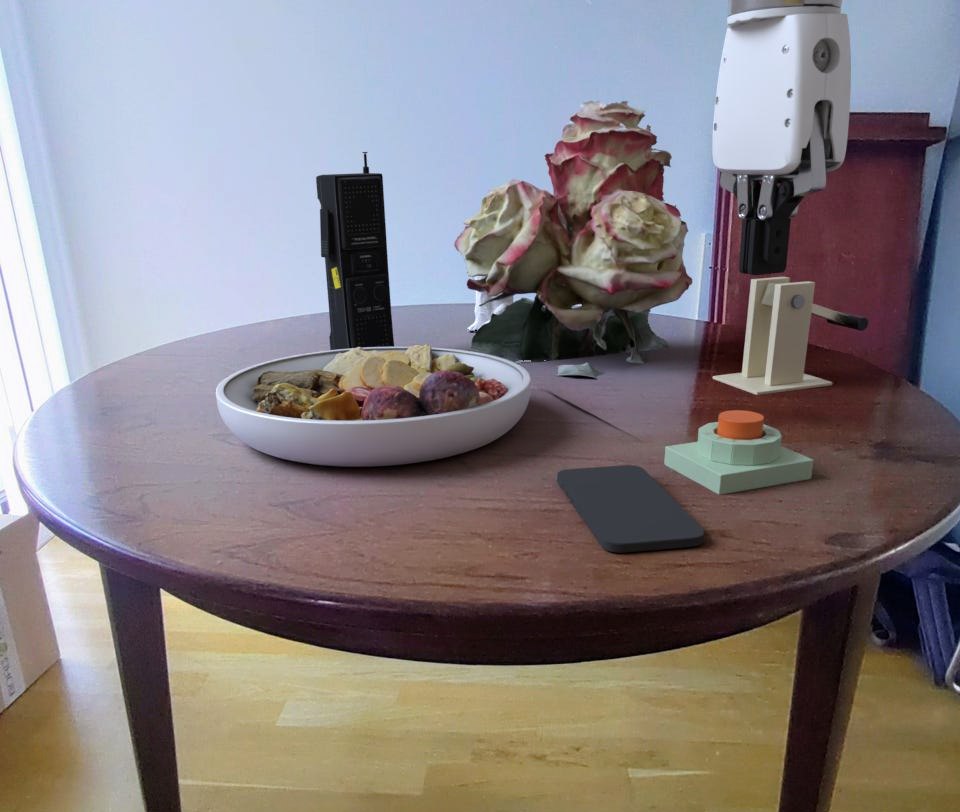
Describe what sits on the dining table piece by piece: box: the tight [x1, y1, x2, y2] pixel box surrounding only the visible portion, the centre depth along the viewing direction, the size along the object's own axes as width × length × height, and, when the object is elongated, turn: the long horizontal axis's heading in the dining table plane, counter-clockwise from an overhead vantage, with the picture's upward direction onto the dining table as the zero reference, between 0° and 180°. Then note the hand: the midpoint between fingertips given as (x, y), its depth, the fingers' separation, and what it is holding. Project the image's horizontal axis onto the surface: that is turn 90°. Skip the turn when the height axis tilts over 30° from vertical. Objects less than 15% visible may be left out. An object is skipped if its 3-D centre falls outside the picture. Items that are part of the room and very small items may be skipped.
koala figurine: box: [459, 252, 514, 330], centre depth 133 cm, size 8×7×12 cm
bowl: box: [215, 343, 532, 468], centre depth 88 cm, size 30×30×8 cm
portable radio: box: [315, 151, 395, 350], centre depth 112 cm, size 8×6×25 cm
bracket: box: [712, 276, 833, 396], centre depth 98 cm, size 10×8×12 cm
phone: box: [556, 464, 706, 554], centre depth 68 cm, size 7×1×15 cm
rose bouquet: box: [454, 100, 693, 381], centre depth 109 cm, size 26×29×30 cm
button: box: [717, 409, 765, 440], centre depth 74 cm, size 4×4×2 cm
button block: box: [663, 421, 814, 495], centre depth 75 cm, size 9×8×4 cm
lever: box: [761, 283, 869, 332], centre depth 99 cm, size 12×5×2 cm, turn 111°
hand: (762, 272), depth 69 cm, fingers closed
